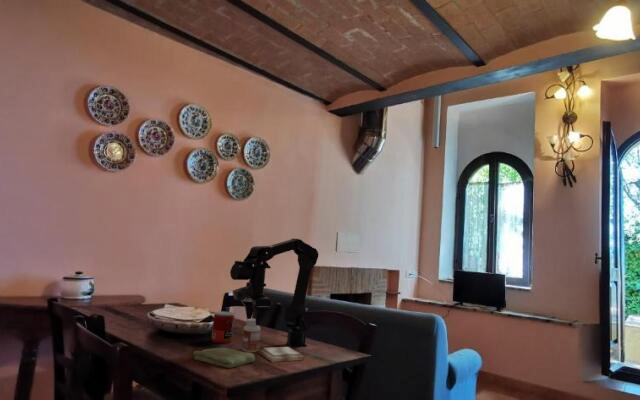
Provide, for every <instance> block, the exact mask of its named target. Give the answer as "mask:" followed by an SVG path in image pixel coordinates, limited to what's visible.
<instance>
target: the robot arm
mask: <svg viewBox="0 0 640 400" xmlns="http://www.w3.org/2000/svg"><path fill="white" fill-rule="evenodd" d="M291 251H293V253H294V254H295V255H297V263H298V266H299V267H298V274H297V278H296V283H295V288H294V291H293V296H292V302H291V303H290V304H289V305H286V306H285V312H284V313H283V316H284V321H285V325H286V328H287V329H288V332H287V338H286V339H287V341H286V344H287V345H289V346H291V347H307V346H308V344H307V343H306V339H307V332H308V331H310V329H311V324H310V323H309V321H308V320H307V318H306V317H307V311H306V307H305V302H306V298H307V297H306V296H307V294H308V293H307V292H308V287H309V283H310V279H311V278H310V277H311V271H312V270H313V269H314V267H315V266H316V264H317V262H318V259H319V252H318V249H317V248H315V247H313V246H311V245H310V244H308V243H307V242H305V241H303V240H302V239H300V238H291V239H288V240H285V241H281V242H278V243H274V244H271V245H258V246H257V245H256V246H255V245H254V246H252V247H251V248H250V250H249V253H248V254H247V255H246V257H245V258H244V259H243V261H242V260H241V261H240V260H235V261H234V264H233V265H232V266H231V269H230V277H231V279H232V280H234V281H247V282H246V285H245V286H243V287H239V288H236V289H233V290H232V295H233V299H234V300H235V301H240V302H241V303H242V304H243V306H244V309H245V315H246V320H247V319H252V317H253V314H254V313H255V317H254V319H255V320H256V325H258V326H260V324H261V322H262V320H263V318H264V316H265V315H266V313H267V312H268V310H269V309H271V307H272V305H273V300H272V299H271V298H269V297H267V296H266V295H265V293H264V291H265V287H267V283H265V281H266V270H267V269H268V270H269V269H271V268H272V267H271V266H270V265H269V263H268V261H270V260H271V259H273V258H274V257H275V256H277V255H280V254H284V253H288V252H291Z"/></svg>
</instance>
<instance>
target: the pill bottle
mask: <svg viewBox="0 0 640 400" xmlns="http://www.w3.org/2000/svg"><path fill="white" fill-rule="evenodd" d="M245 323H246V325H244V327H243V332H242V343H241V351H242V352H247V353H256V352H259V350H260V349H259V348H260V339H261V337H260V336H261V327H260V325H256V320H255V318H251V319H247V318H246V322H245Z"/></svg>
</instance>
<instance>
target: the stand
mask: <svg viewBox="0 0 640 400" xmlns="http://www.w3.org/2000/svg"><path fill="white" fill-rule="evenodd" d="M258 353H259V354H260V355H261V356H263V357H264V358H265V359H267V360H268V361H270V362H272V363H274V362H275V363H276V362H289V361H292V362H293V361H304V359H305V356H304V355H303V354H301V352H299V351H297V350H295V349H293V348H291V347H290V346H279V347H277V346H275V347H262V349H258Z"/></svg>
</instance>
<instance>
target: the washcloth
mask: <svg viewBox="0 0 640 400" xmlns="http://www.w3.org/2000/svg"><path fill="white" fill-rule="evenodd" d="M192 354H193V356H194V357H193V359H194V360H197V361H201V362H203V363H208V364H212V365H214V366H220V367H223V368H227V369H232V368H235V367H240V366H242V365H248V364H252V363H254V362H255V361H256V356H255V355H254V353H253V352H245V351H243V350H236V349H232V348H226V347H216V348H215V347H213V348H206V349H203V350H195V351H193V353H192Z"/></svg>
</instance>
